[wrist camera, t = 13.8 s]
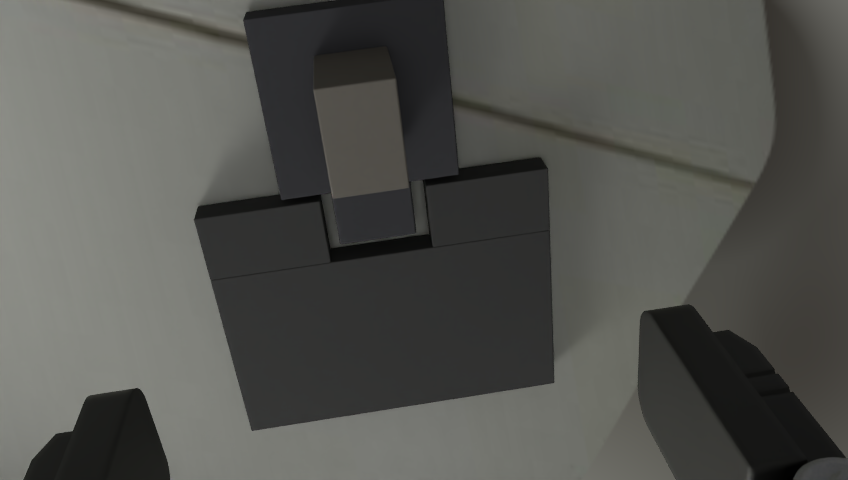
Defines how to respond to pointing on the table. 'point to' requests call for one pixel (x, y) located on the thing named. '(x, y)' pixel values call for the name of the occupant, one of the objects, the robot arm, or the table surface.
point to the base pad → (386, 299)
